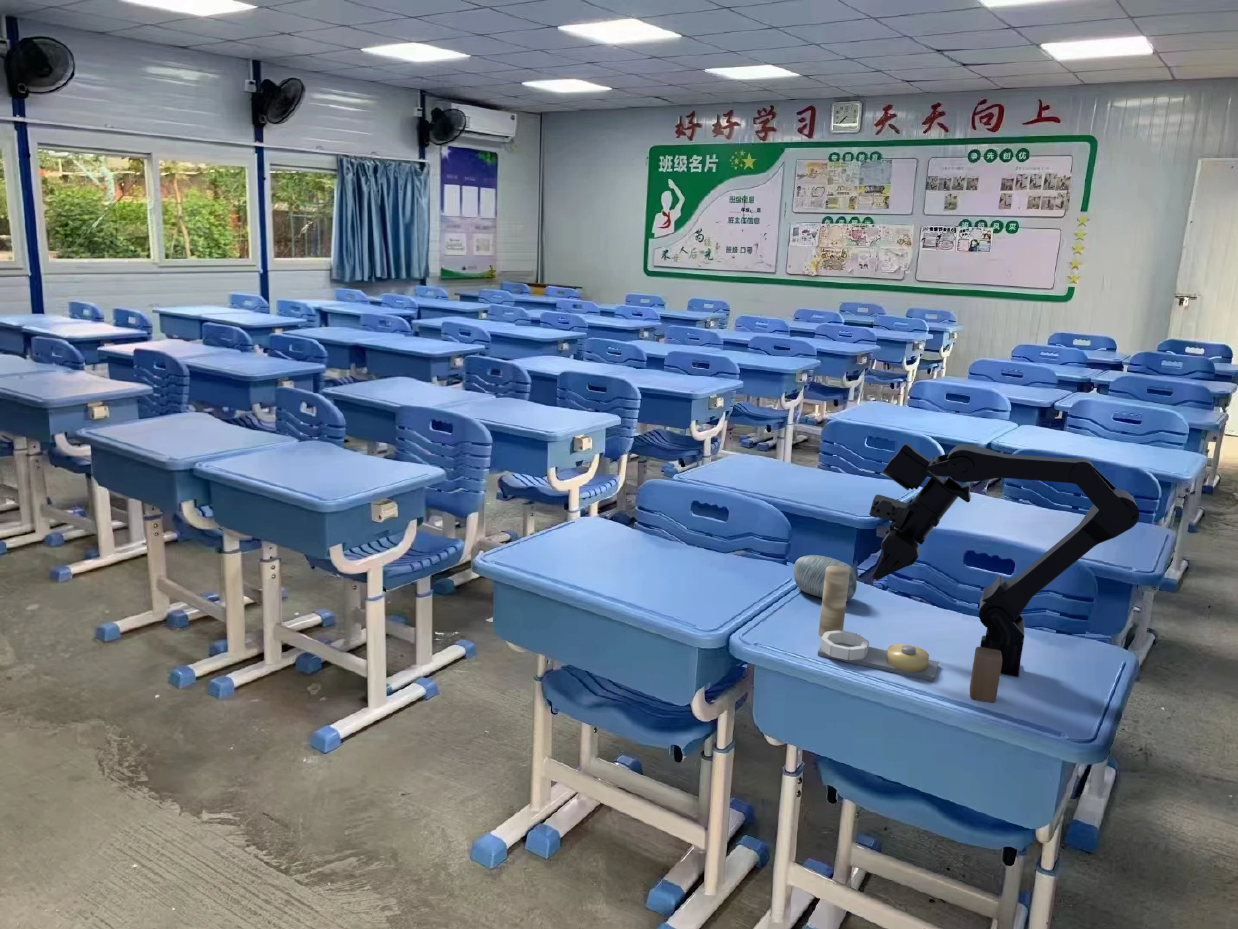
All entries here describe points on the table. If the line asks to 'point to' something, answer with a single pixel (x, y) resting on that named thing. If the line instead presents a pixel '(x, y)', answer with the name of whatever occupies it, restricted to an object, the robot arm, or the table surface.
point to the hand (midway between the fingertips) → (877, 571)
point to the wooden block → (985, 674)
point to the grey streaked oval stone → (819, 574)
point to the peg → (834, 599)
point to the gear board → (878, 655)
